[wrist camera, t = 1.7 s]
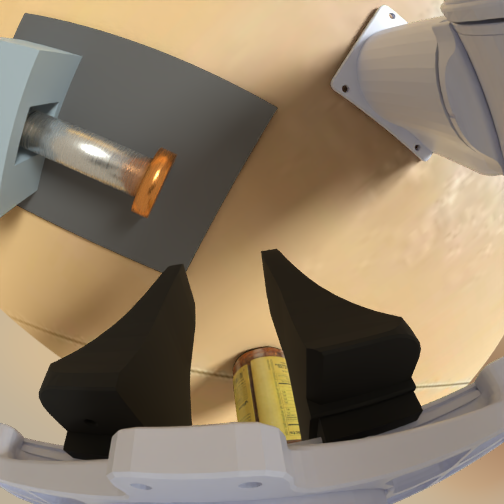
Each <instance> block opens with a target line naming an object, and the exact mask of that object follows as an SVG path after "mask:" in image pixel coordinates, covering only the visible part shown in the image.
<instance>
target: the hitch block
mask: <svg viewBox="0 0 504 504" xmlns="http://www.w3.org/2000/svg"><path fill="white" fill-rule="evenodd" d="M81 59H82V56H79V55H76V54H72V53H69V52H66V51H62V50H59V49H56V48H52V47H48V46H45V45H41V44H37V43H33V42H29V41H25V40H20V39H12V38H2V37H0V218H1V217H2V216H3V215H4V214H6V213H7V212H8V211H10V210H11V209H12V208H14V207H15V206H16V205H18V204H19V203H20V202H22V201H23V200H24V199H26V198H27V197H29V196H30V195H31V194H33V193H34V192H36V191H37V190H38V185H39V181H40V176H41V172H42V168H43V164H44V161H45V157H43V156H41V155H39V154H37V153H35V152H32V151H30V150H28V149H26V148H23V147H21V146H19V143H20V139H21V135H22V132H23V128H24V124H25V121H26V118H27V114H28V111H29V108H32V109H35V110H38V111H40V112H43V113H45V114H48V115H50V116H53V117H55V118H58V115H59V112H60V109H61V107H62V104H63V101H64V99H65V96H66V94H67V91H68V88H69V86H70V84H71V81H72V79H73V76H74V74H75V72H76V70H77V67H78V65H79V63H80V61H81Z"/></svg>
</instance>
